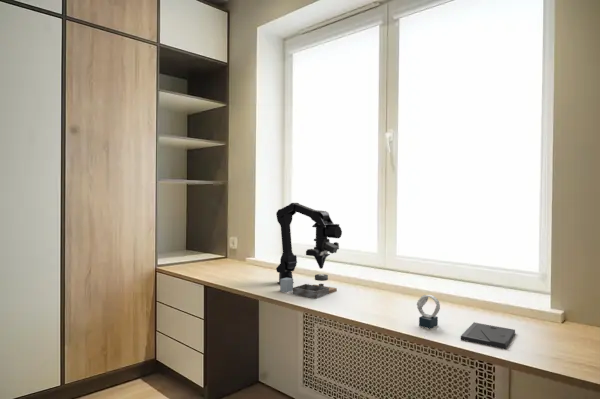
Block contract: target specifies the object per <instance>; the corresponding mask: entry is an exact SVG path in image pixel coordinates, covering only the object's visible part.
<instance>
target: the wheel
mask: <svg viewBox="0 0 600 399" xmlns="http://www.w3.org/2000/svg"><path fill="white" fill-rule="evenodd" d="M314 280H315V281H318V282H324V281H328V280H329V275H328V274H324V273H318V274H315V275H314Z"/></svg>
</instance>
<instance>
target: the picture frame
mask: <svg viewBox="0 0 600 399" xmlns="http://www.w3.org/2000/svg"><path fill="white" fill-rule="evenodd" d="M515 335H516V329H513V328H509V327H501V326H498V325H497V326H496V325H492V324H491V325H490V324H485V323H478V322H475V321H474V322H473V323H472V324H471V325H470V326H469V327H468V328H466V330H465V331H464V332H463V333H462V334H461V335H460V341H463V342H470V343H475V344H479V345H483V346H489V347H492V348H493V347H494V348H498V349H502V350H506V349H508V346H509V344H510V343H511V341H512V339H513V338H514V336H515Z"/></svg>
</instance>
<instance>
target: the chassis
mask: <svg viewBox="0 0 600 399" xmlns="http://www.w3.org/2000/svg"><path fill="white" fill-rule="evenodd" d="M337 289H338V288H337V287H332V286H326V285H324V283H318V284H309V283H308V284H307V283H304V284H301V285H297V286H295V287H294V286H293V291H292V295H295V296H302V297H305V298H312V299H319V298H323V297H325V296H328V295H330V294H333V293H336V292H337Z"/></svg>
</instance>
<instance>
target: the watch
mask: <svg viewBox="0 0 600 399" xmlns="http://www.w3.org/2000/svg"><path fill="white" fill-rule="evenodd" d="M429 298H430V299H431V300H433V302H434V303H435V305H436V306H435V309H434V311H433V312H432V314H428V313H425V311H424V310H423V307H424V306H425V304H427V302H428V300H429ZM416 306H417V307H416V308H417V311H418V312H419V314H420V315H421V316H419V317H418V326H419V327H422V328H426V329H433V328H435V327H437V326H438V323H439V321H438V319H439V317H438V316H437V314H438V313H439V312H440V310H441V304H440V301H439V299H438V298H437V297H436V296H435V295H432V294H423V295H422V296H421V297H420V298H419V299H418V300H417V302H416Z"/></svg>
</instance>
